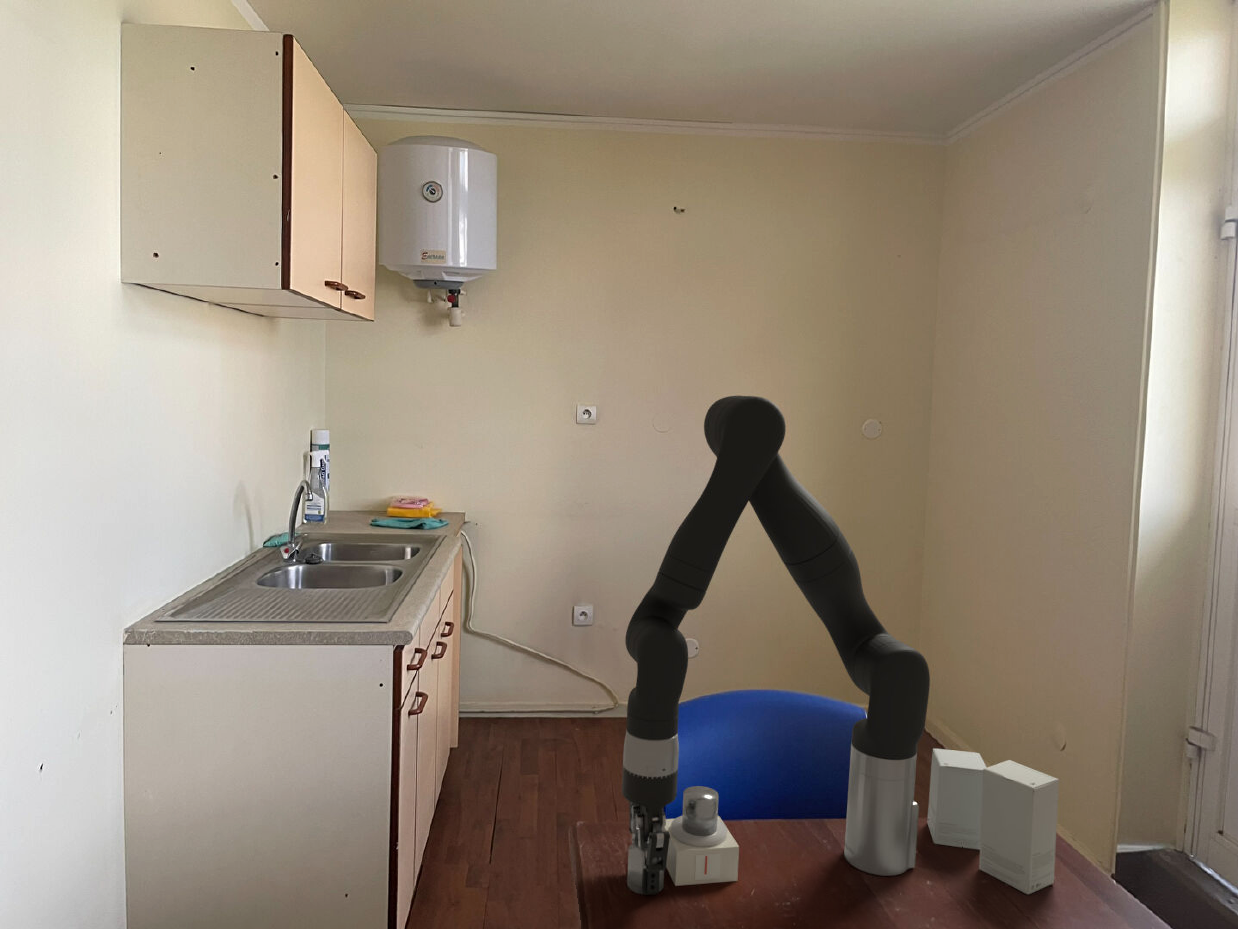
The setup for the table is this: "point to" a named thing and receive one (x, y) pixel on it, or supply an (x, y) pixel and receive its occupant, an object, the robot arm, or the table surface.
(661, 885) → the cylinder
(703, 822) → the cylinder
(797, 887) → the table surface
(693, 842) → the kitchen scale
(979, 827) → the supplement box
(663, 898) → the table surface
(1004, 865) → the skincare box
